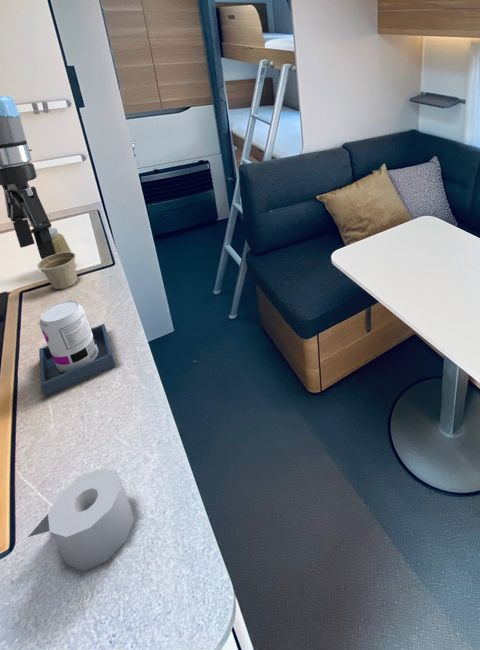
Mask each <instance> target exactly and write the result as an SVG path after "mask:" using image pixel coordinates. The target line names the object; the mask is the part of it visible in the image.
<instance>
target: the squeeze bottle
mask: <svg viewBox="0 0 480 650" xmlns="http://www.w3.org/2000/svg"><path fill="white" fill-rule="evenodd" d="M48 229H49V232H50V236H51V239H52V243H53V246H54V249H55V253H61V252H72V250H71V248H70V247H69V244H68V243H67V240H66V239H65V237H64V235H63V234H62V233H59V232H58V229H57V228H56V227H52V226H51V227H49V228H48ZM45 258H46V257H45ZM40 259H41V260H43V259H44V258H41V257H40Z"/></svg>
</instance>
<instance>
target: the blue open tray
mask: <svg viewBox="0 0 480 650" xmlns="http://www.w3.org/2000/svg"><path fill="white" fill-rule="evenodd" d="M91 331H92V334H93V337H94V339H95V342H96V345H97V348H98V351H99V352H98V355H97V357H96V358H95V360H94V361H92V362H90V363H87V364H85V365H83V366H80V367H78V368H76V369H73V370H71V371H69V372H66V373H63V372H60V371H59V370H58V369H57V366H56V364H55V361H54V359H53V357H52V354H51V352H50V349H49V347H48V345H45V346H43V347H41V348H38V354H39V378H40V379H39V381H40V387H41V389H42V392H43V394H44V396H45V398H48V397H51V396H53V395H55V394H57V393H59V392H61V391H64V390H66V389H68V388H71V387H72V386H75V385H77V384H79V383H82V382H84V381H87V380H89V379H91V378H93V377H95V376H97V375H99V374H102V373H104V372H106V371H108V370H111V369H113V368H115V367H117V364H116V360H115V357H114V352H113V349H112V346H111V342H110V338H109V333H108V331H107V328H106V325H105V323H102V324H99V325H96V326H95V327H92V328H91Z"/></svg>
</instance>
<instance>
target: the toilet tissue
mask: <svg viewBox="0 0 480 650" xmlns="http://www.w3.org/2000/svg"><path fill="white" fill-rule="evenodd" d="M123 485H124V484H123V483H122V481H121V478H120V475H119V472H118V471H115V470H111V469H107V468H104V467H101V468H98V469H95V470H92V471H89V472H86V473H83V474H81V475H79V476H78V477H77V478H76V479H75V480H74V481H72V482H71V483H69V484H68V485H67V486H66V487H65V488H64V489H63V490H62V491H60V492H59V494H58V496H57V497H56V499H55V501H54V502H53V504H52V506H51V508H50V509H49V511H48V512H47V514H46V515H45V516H44V518H43V519H42V520H41V521H40V522H39V523H38V524H37V526H36V527H35V528H34V529H33V530H32V532H31V533H29V535H28V536H27V537H28V538H29V537H34V536H37V535H41V534H44V533H48V532H49V533H50V535H51V537H52V539H53V541H54V543H55V544H56V546H57V548H58V550H59V552H60V553H61V556H62V557H63V559H64V561H65V563H66V565H67V566H68V567H72V568H74V569H77V570H80V571H83V572H84V571H85V572H86V571H87V570H89V569H92V568H94V567H97V566H98V565H101V564H103V563H106V562H107V561H108V560H109V559H110V558H111V557H112V556H113V555H114V554H115V553H116V552H117V551H118V550H119V549H120V548H121V547H122V546H123V545H124V544H125V543H126V542H127V539H128V537H129V534H130V532H131V530H132V527H133V525H134V522H135V517H134V513H133V510H132V506H131V503H130V501H129V498H128V496H127V492H126V490H125V488H124V486H123Z"/></svg>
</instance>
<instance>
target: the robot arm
mask: <svg viewBox="0 0 480 650" xmlns="http://www.w3.org/2000/svg"><path fill="white" fill-rule="evenodd" d="M32 151H33V148H32V147H30V146H29V145H28V141H27V139H26V135H25V131H24V127H23V123H22V119H21V114H20V112H19V110H18V107H17V105H16V102H15V100H14V98H13V97H11V96H9V95H0V186H1V187H2V189H3V193H4V200H5V206H6V213H7V218H8V219H10V221H11V222H12V225H13V228H14V232H15V234H16V238H17V241H18V245H19V247H20V248H25V247H28V246H32V245H35V244H36V247H37V250H38V254H39V257H40V259H41V258H45V257H48V256H51V255H54V254H56V253H55V249H54V246H53V243H52V239H51V236H50V232H49V229H48V228H49V227H51V228H52V223H51V221H50V219H49V217H48V215H47V213H46V211H45V208H44V205H43V204H42V201H41V200H40V198H39V195H38V192H37V188H36V187H35V186H30V185H29V183H28V182H30V181H33V180H35V179H36V178H37V176H38V175H37V172H36V168H35V165H34V163H32V162H31V161H32V156H31V155H32V154H31V153H30V152H32ZM29 223H30V224H29ZM30 225H31V226H30ZM31 227H32V228H31ZM33 237H34V238H33Z"/></svg>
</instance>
